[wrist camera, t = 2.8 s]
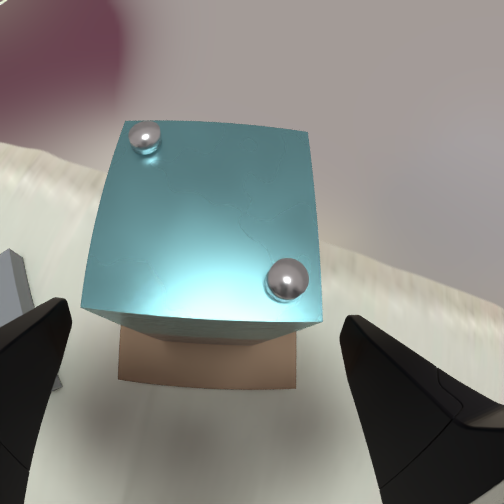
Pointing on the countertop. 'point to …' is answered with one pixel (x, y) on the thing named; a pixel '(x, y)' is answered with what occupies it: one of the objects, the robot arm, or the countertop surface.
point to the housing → (207, 234)
